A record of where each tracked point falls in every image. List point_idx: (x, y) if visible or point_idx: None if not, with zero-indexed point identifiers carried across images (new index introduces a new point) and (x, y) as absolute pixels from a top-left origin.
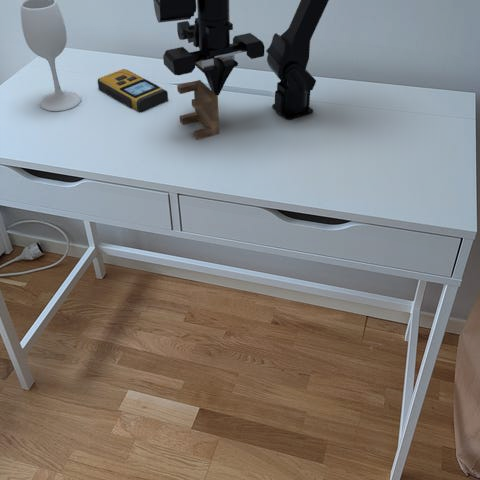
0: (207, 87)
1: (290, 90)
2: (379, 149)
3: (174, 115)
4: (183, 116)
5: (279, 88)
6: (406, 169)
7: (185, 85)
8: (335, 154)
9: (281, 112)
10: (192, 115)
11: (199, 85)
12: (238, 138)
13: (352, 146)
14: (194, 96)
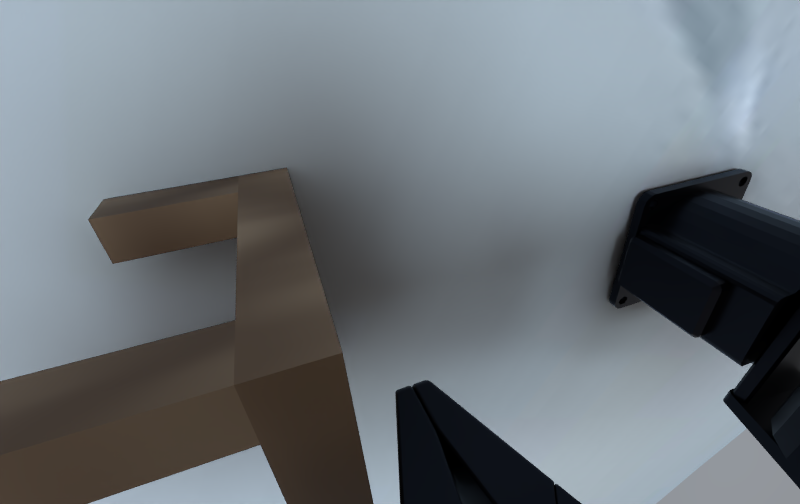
0: (366, 491)
1: (735, 412)
2: (653, 433)
3: (44, 84)
4: (125, 237)
5: (741, 311)
6: (630, 481)
7: (76, 486)
8: (575, 451)
9: (624, 287)
10: (206, 238)
11: (293, 470)
12: (394, 388)
13: (625, 425)
14: (237, 262)
